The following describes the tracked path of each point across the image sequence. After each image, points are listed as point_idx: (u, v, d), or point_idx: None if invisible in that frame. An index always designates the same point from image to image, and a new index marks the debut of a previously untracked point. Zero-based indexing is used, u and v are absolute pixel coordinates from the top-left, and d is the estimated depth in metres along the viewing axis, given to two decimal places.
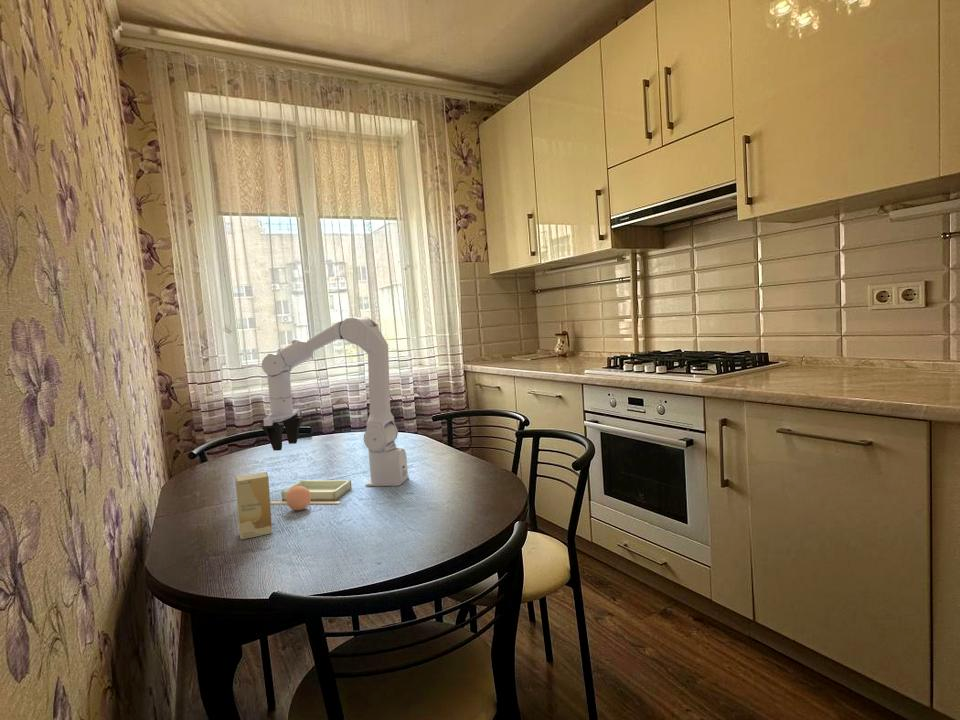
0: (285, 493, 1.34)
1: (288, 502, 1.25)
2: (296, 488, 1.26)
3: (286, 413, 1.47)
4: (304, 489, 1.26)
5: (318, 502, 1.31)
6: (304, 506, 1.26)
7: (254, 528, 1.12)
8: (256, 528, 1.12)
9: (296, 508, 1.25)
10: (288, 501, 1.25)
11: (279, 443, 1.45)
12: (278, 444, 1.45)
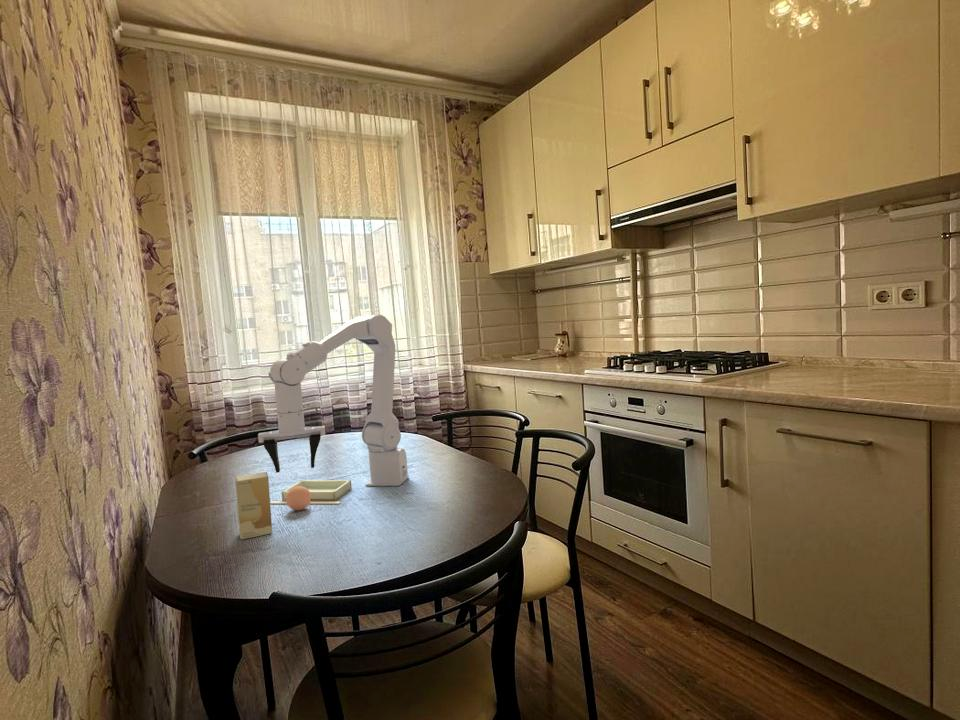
0: (285, 493, 1.34)
1: (288, 502, 1.25)
2: (296, 488, 1.26)
3: (283, 431, 1.24)
4: (304, 489, 1.26)
5: (318, 502, 1.31)
6: (304, 506, 1.26)
7: (254, 528, 1.12)
8: (256, 528, 1.12)
9: (296, 508, 1.25)
10: (288, 501, 1.25)
11: (274, 464, 1.25)
12: None
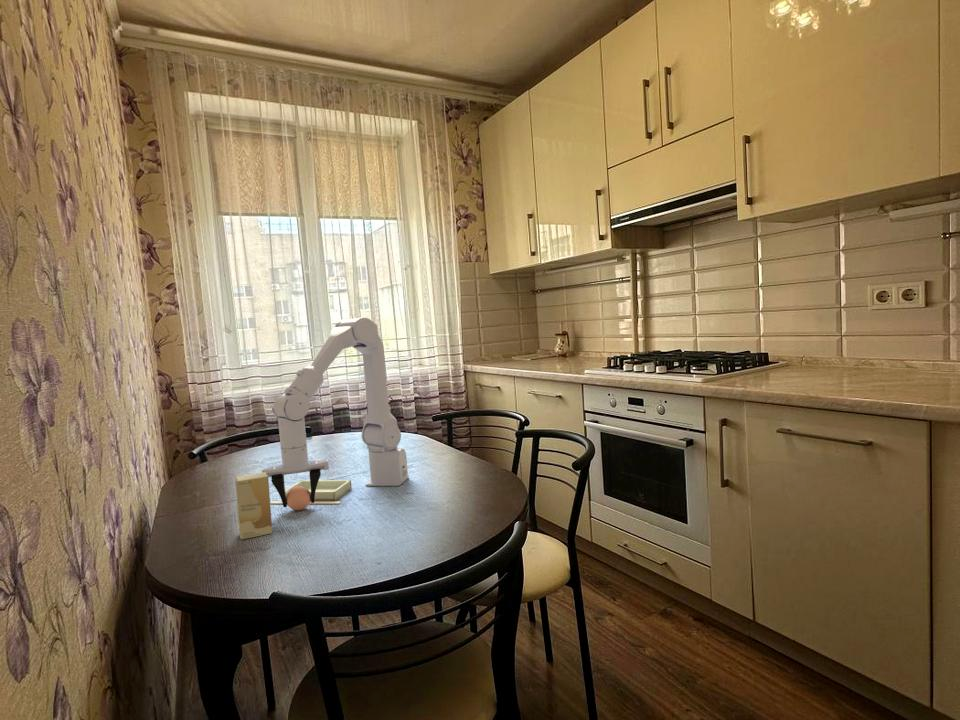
0: None
1: (288, 502, 1.25)
2: (296, 488, 1.26)
3: (287, 467, 1.24)
4: (304, 489, 1.26)
5: (318, 502, 1.31)
6: (304, 506, 1.26)
7: (254, 528, 1.12)
8: (256, 528, 1.12)
9: (296, 508, 1.25)
10: (288, 501, 1.25)
11: (281, 499, 1.25)
12: (282, 500, 1.25)
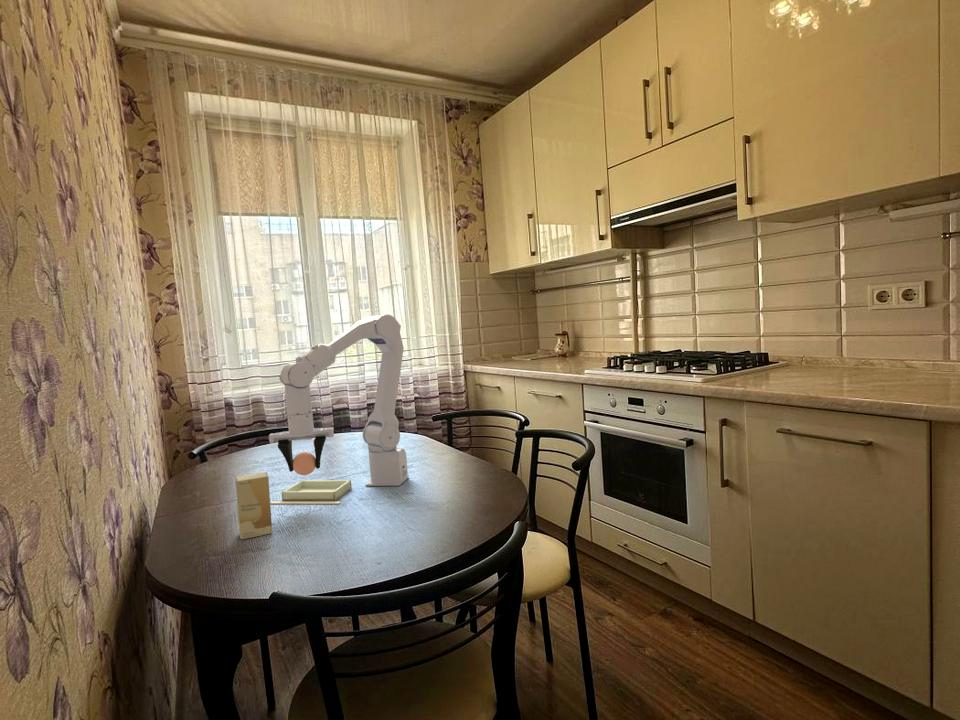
0: (285, 493, 1.34)
1: (294, 467, 1.29)
2: (301, 454, 1.30)
3: (292, 432, 1.28)
4: (309, 455, 1.30)
5: (318, 502, 1.31)
6: (309, 471, 1.30)
7: (254, 528, 1.12)
8: (256, 528, 1.12)
9: (301, 473, 1.29)
10: (293, 466, 1.29)
11: None
12: None
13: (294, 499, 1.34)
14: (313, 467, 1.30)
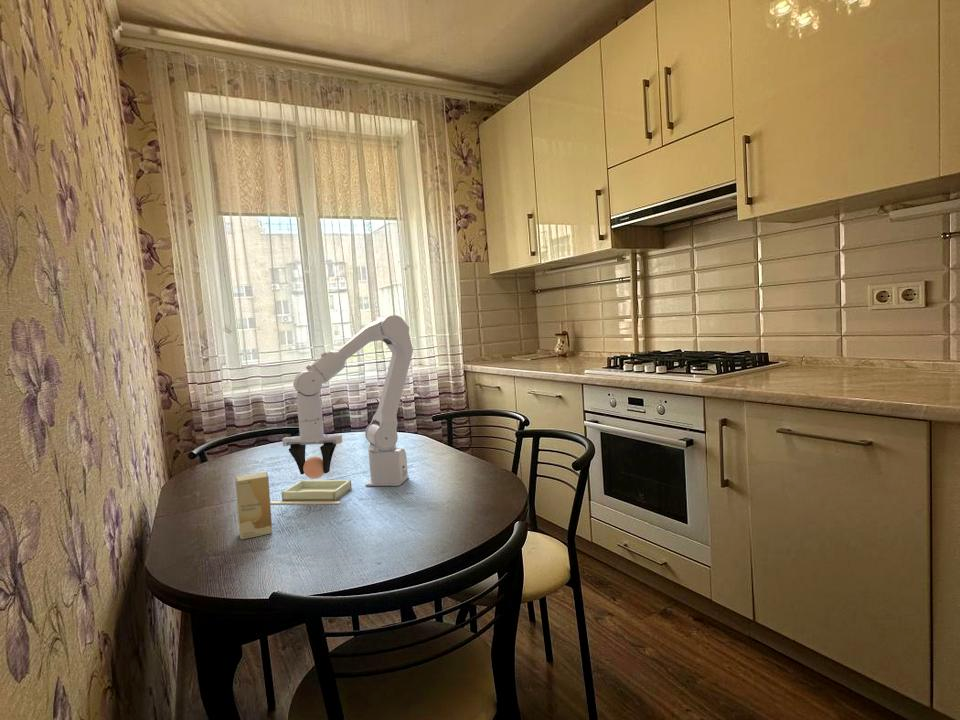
0: (285, 493, 1.34)
1: (303, 470, 1.36)
2: (311, 458, 1.36)
3: (301, 438, 1.34)
4: (318, 460, 1.36)
5: (318, 502, 1.31)
6: (317, 475, 1.35)
7: (254, 528, 1.12)
8: (256, 528, 1.12)
9: (309, 476, 1.35)
10: (303, 469, 1.36)
11: None
12: None
13: (294, 499, 1.34)
14: (321, 472, 1.36)
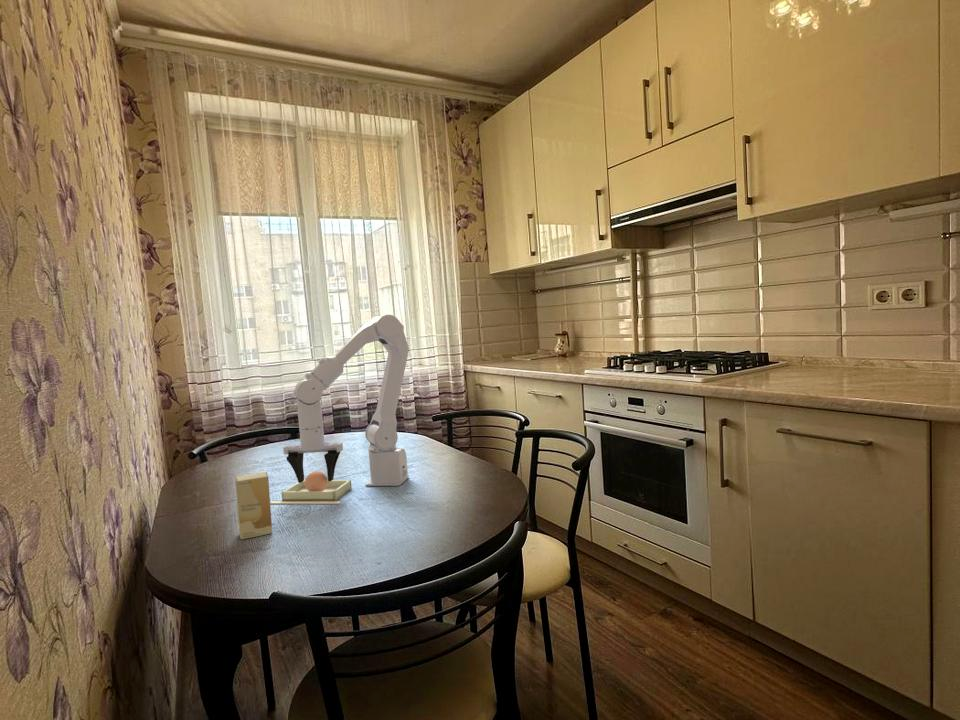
0: (285, 493, 1.34)
1: (305, 484, 1.36)
2: (313, 473, 1.36)
3: (302, 446, 1.35)
4: (320, 475, 1.36)
5: (318, 502, 1.31)
6: (318, 490, 1.36)
7: (254, 528, 1.12)
8: (256, 528, 1.12)
9: None
10: (305, 484, 1.36)
11: None
12: None
13: (294, 499, 1.34)
14: (323, 487, 1.36)
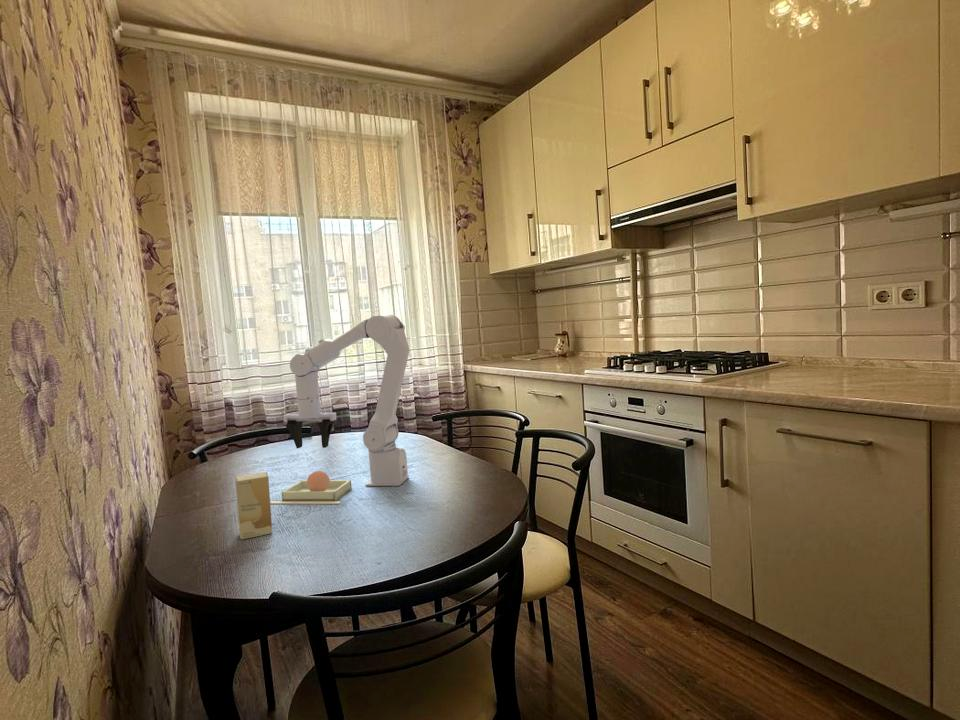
0: (285, 493, 1.34)
1: (307, 483, 1.36)
2: (317, 473, 1.36)
3: (299, 414, 1.47)
4: (323, 476, 1.36)
5: (318, 502, 1.31)
6: None
7: (254, 528, 1.12)
8: (256, 528, 1.12)
9: (312, 490, 1.36)
10: (307, 482, 1.36)
11: None
12: None
13: (294, 499, 1.34)
14: (324, 488, 1.36)
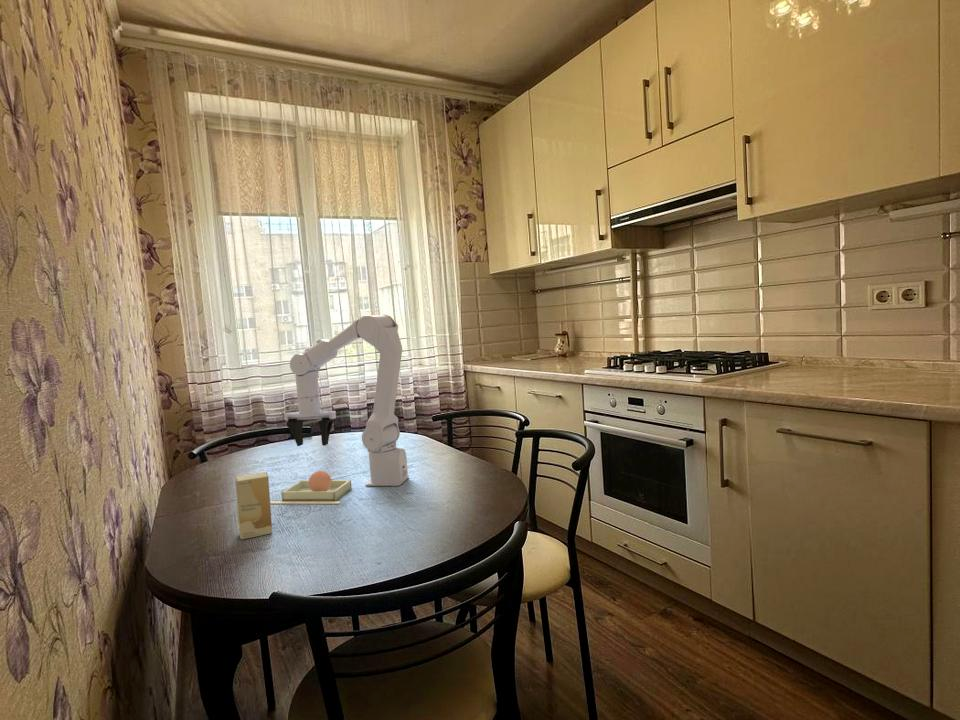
0: (285, 493, 1.34)
1: (309, 481, 1.36)
2: (320, 473, 1.36)
3: (299, 413, 1.50)
4: (326, 477, 1.36)
5: (318, 502, 1.31)
6: None
7: (254, 528, 1.12)
8: (256, 528, 1.12)
9: (313, 490, 1.36)
10: (309, 480, 1.36)
11: None
12: None
13: (294, 499, 1.34)
14: (325, 489, 1.36)
